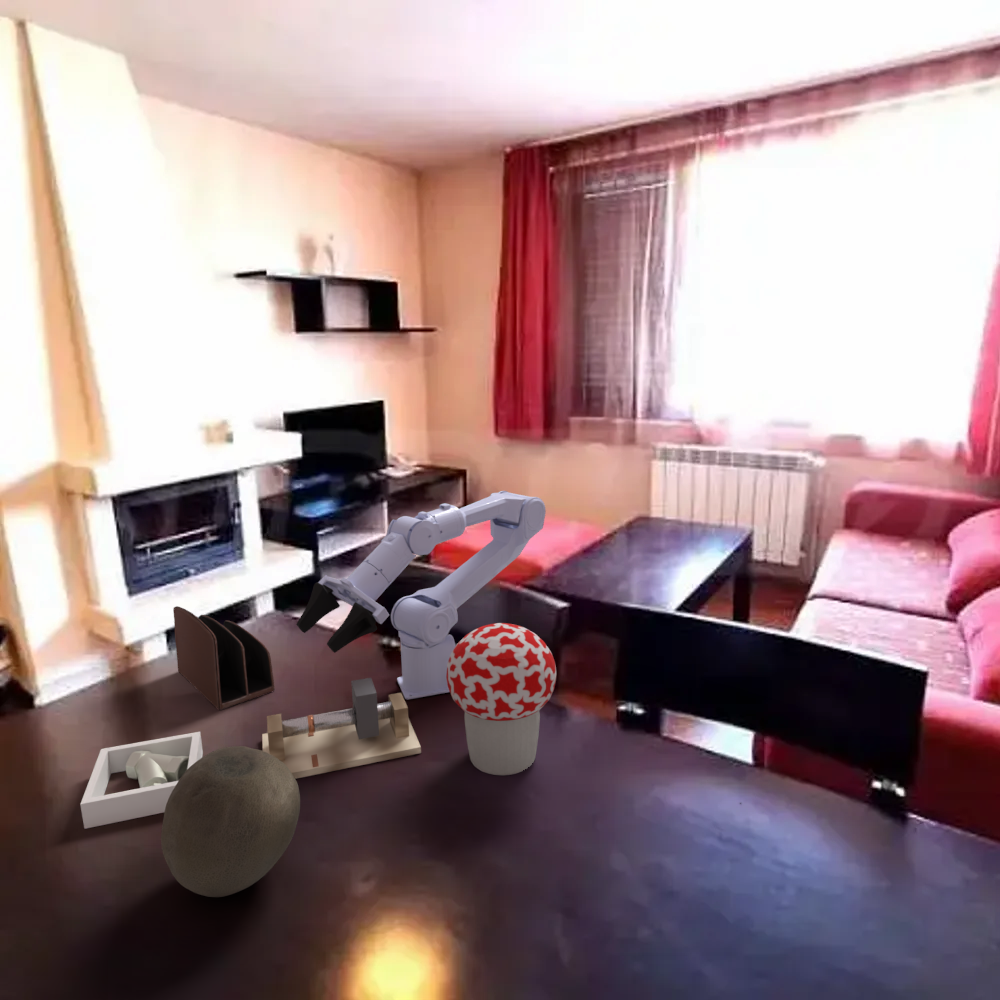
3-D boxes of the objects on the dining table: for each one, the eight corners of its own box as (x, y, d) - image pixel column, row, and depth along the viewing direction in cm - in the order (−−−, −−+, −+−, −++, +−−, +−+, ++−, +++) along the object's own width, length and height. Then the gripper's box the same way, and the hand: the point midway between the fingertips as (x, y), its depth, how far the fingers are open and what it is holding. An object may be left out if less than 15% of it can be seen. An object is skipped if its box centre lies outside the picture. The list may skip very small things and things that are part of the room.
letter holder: (218, 712, 116) (209, 632, 113) (177, 673, 130) (168, 601, 127) (275, 691, 122) (268, 616, 119) (230, 656, 137) (223, 588, 134)
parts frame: (202, 752, 104) (200, 731, 103) (196, 805, 92) (193, 781, 91) (104, 770, 100) (101, 749, 99) (84, 828, 88) (80, 804, 87)
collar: (373, 718, 109) (371, 677, 107) (379, 735, 104) (376, 693, 102) (354, 721, 108) (351, 680, 106) (358, 739, 103) (356, 696, 101)
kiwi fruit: (225, 949, 70) (209, 817, 67) (143, 893, 77) (125, 772, 74) (329, 861, 81) (320, 746, 78) (249, 820, 89) (237, 713, 86)
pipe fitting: (162, 807, 93) (194, 774, 99) (157, 783, 91) (189, 750, 98) (110, 800, 94) (145, 767, 101) (105, 775, 93) (140, 744, 99)
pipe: (403, 710, 109) (402, 695, 108) (406, 718, 106) (406, 703, 106) (268, 735, 102) (267, 719, 102) (268, 744, 100) (267, 728, 99)
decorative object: (497, 804, 91) (494, 663, 87) (427, 754, 103) (422, 626, 98) (578, 758, 101) (579, 628, 97) (506, 716, 113) (505, 599, 108)
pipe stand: (404, 713, 114) (403, 681, 113) (421, 752, 103) (419, 717, 102) (262, 739, 107) (259, 705, 106) (264, 785, 96) (260, 747, 95)
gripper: (336, 543, 114) (275, 605, 108) (396, 574, 105) (333, 642, 99) (354, 570, 118) (296, 631, 112) (413, 602, 110) (353, 669, 104)
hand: (315, 638), depth 106 cm, fingers open, 7 cm apart
